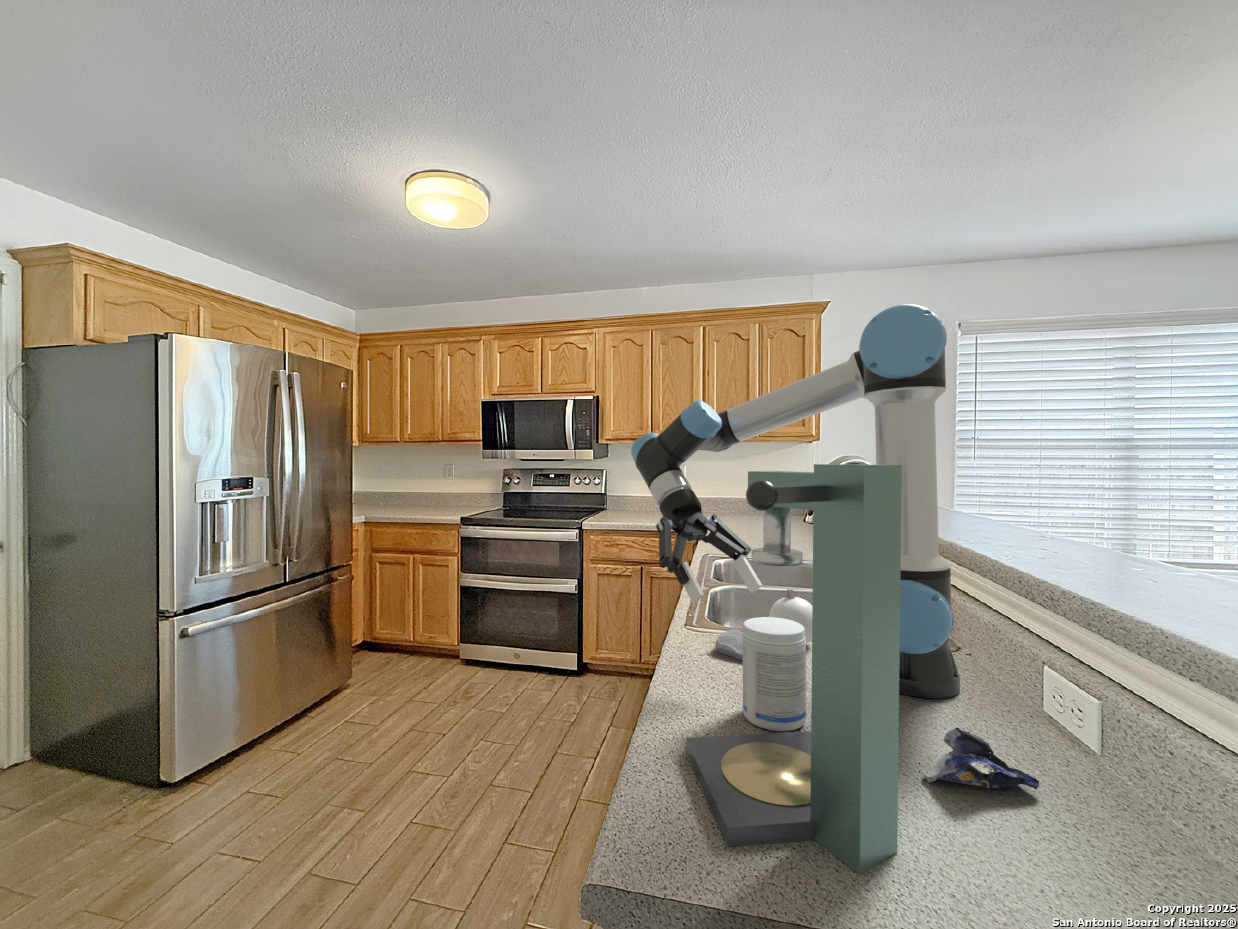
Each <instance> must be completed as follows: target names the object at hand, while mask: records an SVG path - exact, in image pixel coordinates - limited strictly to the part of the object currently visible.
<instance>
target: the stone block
mask: <svg viewBox="0 0 1238 929" xmlns="http://www.w3.org/2000/svg"><path fill="white" fill-rule="evenodd" d="M742 632H743V631H740V630H739V629H738V628H730V629H728V630H727V631H723V632H722V633H721V634H719V635H718V637H717V638H716V640H715V652H717V653H718V654H722V655H725V656H728V657H731V658H733V657H734V659H735V660H739V661H742V662H743V651H742V635H743V633H742Z"/></svg>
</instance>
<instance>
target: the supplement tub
mask: <svg viewBox="0 0 1238 929" xmlns="http://www.w3.org/2000/svg"><path fill="white" fill-rule="evenodd" d="M741 632H742V633H743V635H742V651H743V661H742V712H743V715H744V717H745V718H746V719H747V721H748V722H750V723H751V724H753V725H754V726H756V727H759V728H762V729H765V730H768V731H772V732H793V731H794V730H795V731H796V730H798V729H799V728H802V727H803V726H804V725H805V724H806V720H807V644H806V639H805V629H804V627H803V626H802V625H801V624H800V623H798V622H795V621H792V620H788V619H783V618H775V617H769V616H762V617H761V616H760V617H753V618H748V619H746V620H745V621H744V622H743V624H742V631H741Z"/></svg>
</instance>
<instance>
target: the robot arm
mask: <svg viewBox="0 0 1238 929" xmlns="http://www.w3.org/2000/svg"><path fill="white" fill-rule="evenodd" d="M947 335H948V334H947V330H946V327H945V324H944V323H943V322H942V320H941V319H940V317H938V315H937V314H935V313H934V311H932V310H930V309H928V308H927V307H924V306H921V305H918V304H910V303H909V304H908V303H906V304H905V303H904V304H899V305H897V304H896V305H894V306H891V307H887V308H886V309H884V310H882V311H880V312H879V313H878V314H876V315H874V317H873V318H871V320H870V321H869V322H868V323H867V324H866V326H865V327H864V329H863V331H862V334H861V337H860V341H859V345H858V346H859V348H858V349H859V350H858V351H857V350H856V351H855V352H852V353H851V354H850V357H849V358H848V359H847V360H846V361H844V362H842V363H839V364H837V365H834V366H832V367H829V368H827V369H824V370H822V371H819V372H817V373H815V374H812V375H810V376H809V375H808V376H807V377H804V378H802V379H798V380H797V381H794V382H792V383H790V384H787V385H784V386H782V387H779V388H777V389H774V390H773V391H770V392H767V393H765V394H763V395H760V396H758V397H755V398H752V399H750V400H747V401H746V402H745V401H744V402H743V403H740V404H738V405H734V406H733V407H731V408H728V409H726V410H722V411H720V412H718V413H717V412H716V411H715V409H713V407H711V406H710V404H708V403H706V402H705V401H703V400H699V399H698V400H695V401H693V402H692V403H691V404H690V405H689V406H687V407H685V408H684V409H683V410H682V411H681V413H680V414H678V416H677V417H676V418H674V420H673V421H672V422H671V423H670V424H668V426H666V428H665V429H664V430H663V431H662V432H660V434H658V433H656V432H649V433H645V434H644V435H643V436H641V437H640V436H639V437H637V439H636V440H635V441H634V442H633V443H632V446H631V448H630V452H631V454H630V455H631V457H632V459H633V461H634V463H635V466H636V467H635V468H636V470H638V472H639V473H640V475H641V477H642V479H643V480H644V482H645V484H646V486H647V488H648V490H649V492H650V494H651V495H652V498H653V500H654V501H655V504H656V505H657V508H659V512H660V513H661V516H662V517H661V518H660V519H659V520H658V522H657V523H656V525H655V528H656V529H657V533H658V553H659V554H658V557H659V559H658V562H659V563H658V565H659V566H660V568H661V569H665V568H666V570H667V572H668V573H674V575H675V577H676V579H677V582H678V583H679V584H680V586H681V585H683V588H684V589H685V592H686V593H687V595H688V597H689V599H690V601H691V603H692V605H694V604H697V603H698V602H700V600H701V599H702V597H704V595H705V594H704V591H703V590H702V588H701V586H700V584H699V581H698V580H697V578H696V576H695V574H694V572H693V570H692V569H691V567H690V565H689V562H688V561H683V557H684V552H685V550H686V545H687V542H688V543H689V542H694V541H697V542H701V541H702V542H704V543H705V544H710V545H712V546H713V547H715V548H716V549H717V550H719V551H720V552H722V554H723V553H724V554H725V555H726V556H728V557H729V558H730V559H732V560H733V565H734V567H735V569H736V570H737V572H738V574H739V575H740V578H741V579H742V581H743V583H744V584H745V586H746V588H747V590H748V591H749V593H750V594H755V593H756V592H757V591H758V590H759V589H760V588H761V587H762V586H763V584H762V582H761V580H760V579H759V578H758V576H757V574H756V572H755V569H754V567H753V565H752V563H751V561H750V560H749V558H748V555H749V554H750V553H752V549H753V548H752V547H750V546H749V544H748V543H746V542H745V541H744V540H743V539H742V538H741V537H740V536H739V535H738V534H736V533H735V532H734V530H732V529H731V528H729V526H727V525H726V524H725V523H724V521H723V520H722V519H721V518H720V516H719V515H718V514H717V513H713V514H712V515H711V516H709V517H708V516H706V515H704V514H703V512H702V503H701V502H700V499H699V497H698V496H697V495H696V493H695V491H694V490H693V488H692V486H691V484H690V482H689V481H688V480H687V477H686V476H685V474H684V473H683V471H682V469H681V465H682V464H684V463H686V461H687V460H689V458H691V457H692V456H693V455H694V454H695V453H696V452H698V451H708V452H714V453H715V452H716V453H718V452H722V451H727V450H728V449H730V448H732V447H733V445H736V444H738V443H741V442H743V441H746V440H748V439H752V438H755V437H757V436H761V435H763V434H765V433H768V432H771V431H774V430H776V429H780V428H782V427H785V426H788V425H791V424H793V423H796V422H799V421H801V420H804V419H807V418H809V417H812V416H815V415H819V414H821V413H824V412H827V411H828V410H832V409H834V408H838V407H840V406H843V405H845V404H849V403H851V402H854V401H857V400H860V399H865V400H867V401H869V402H870V403H871V404H872V405H873V407H874V422H875V424H874V425H875V426H874V429H875V431H874V432H875V461H876V462H875V465H902V487H901V573H900V659H899V694H903V695H906V696H911V697H917V698H925V699H945V698H951V697H952V698H953V697H954V696H957V695H958V694H959V693H960V691H961V677H960V674H959V672H958V668H957V664H956V661H955V659H954V656H953V653H952V651H951V647H950V640H949V639H950V636H951V634H952V632H953V629H954V623H955V622H954V621H955V617H954V613H953V611H952V587H951V586H952V583H951V579H952V578H951V577H952V573H951V564H950V563H949V562H948V561H947V560H946V559H945V558H943V557H942V556H941V555H940V553H939V550H940V549H939V546H940V545H939V519H938V518H939V515H938V514H939V513H938V478H937V476H938V474H937V473H938V472H937V470H938V469H937V435H936V432H937V431H936V428H937V427H936V402H937V400H938V399H939V398H940V397H941V396H942V395H943V394H944V393H945V392H946V390H947V385H946V383H947V382H946V345H947ZM708 531H709V533H708ZM672 532H674V533H676V537H675V541H674V547H673V548H672ZM672 549H673V550H672ZM682 561H683V562H682Z"/></svg>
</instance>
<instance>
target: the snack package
mask: <svg viewBox="0 0 1238 929" xmlns="http://www.w3.org/2000/svg"><path fill="white" fill-rule="evenodd" d="M943 741H944V743H945V744H946V745H947V747H949V748H951V749H952V751H949V752H948V753H946V754H943V755H941V757H940V758H939V759H938V760H937V762H936V765H935V767H934V768H932V769H931V770H930V771H929V772H928V773H923V774H922V775H923V777H924V778H925V779H926V781H927V782H928V783H929V784H931V783H932V784H933V783H934V782H935V781H937V780H939V781H946V782H951V783H957V784H965V785H971V786H975V787H976V786H977V787H979V788H986V789H996V788H997V789H998V788H1003V787H1004V788H1006V787H1012V786H1018V785H1024V786H1027V787H1029V788H1033V789H1035V790H1038V789H1039V786H1040V780H1038V779H1036V778H1035V777H1033V776H1031V775H1030V774H1028V773H1025V772H1024V771H1022V770H1019V769H1017V768H1014V767H1013V768H1012V767H1010V766H1009V765H1008V764H1007V763H1006V762H1004V761H1003V760H1002V759H1000V758H999V757H997V755H995V752H994V750H993V749H992V747H991V746H990V743H989V742H987V741H985V739H983V738H981V737H979V736H977V735H975V734H972V733H971V732H969V731H966V730H965V731H964V730H961V729H960V728H959V727H958V726H956V727H955V728H954V729H951V730H949V731H948V732H946V733H945V734H944V738H943ZM1032 795H1033V796H1035V794H1034V793H1032Z"/></svg>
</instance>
